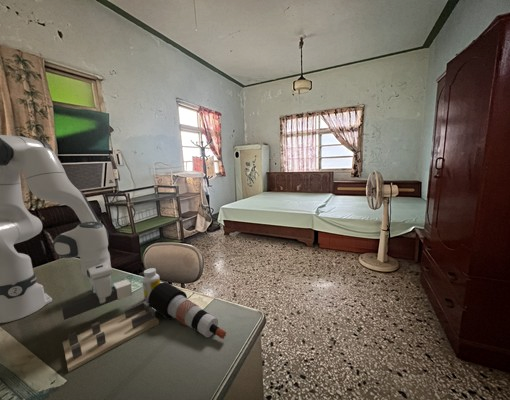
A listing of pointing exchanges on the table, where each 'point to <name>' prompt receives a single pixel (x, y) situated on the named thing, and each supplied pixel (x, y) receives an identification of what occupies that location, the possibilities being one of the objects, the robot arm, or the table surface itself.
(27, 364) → the table surface
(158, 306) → the cable
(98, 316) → the table surface
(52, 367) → the table surface
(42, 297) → the robot arm
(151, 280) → the supplement bottle
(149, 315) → the clip board
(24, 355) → the table surface
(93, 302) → the bar
